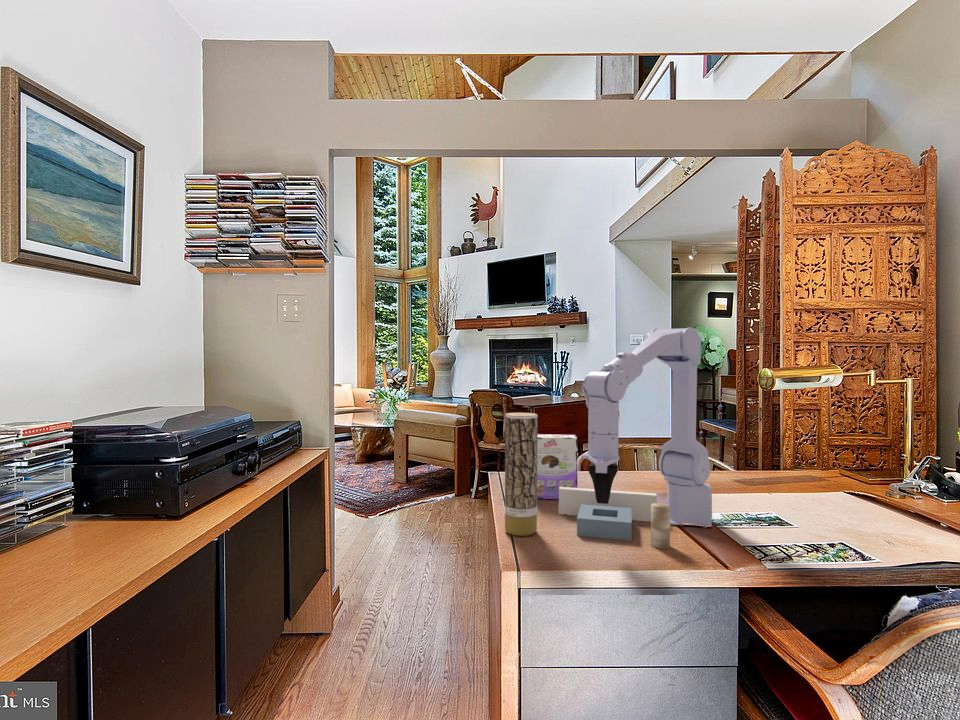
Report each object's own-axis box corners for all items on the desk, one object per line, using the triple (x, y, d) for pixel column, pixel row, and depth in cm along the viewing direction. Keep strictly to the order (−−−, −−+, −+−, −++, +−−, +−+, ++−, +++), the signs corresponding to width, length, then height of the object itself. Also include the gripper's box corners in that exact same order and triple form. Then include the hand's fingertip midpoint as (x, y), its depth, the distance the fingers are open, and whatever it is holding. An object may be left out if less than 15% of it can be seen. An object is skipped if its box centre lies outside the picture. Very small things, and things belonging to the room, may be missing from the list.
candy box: (575, 495, 145) (576, 433, 145) (577, 501, 139) (578, 437, 139) (524, 493, 147) (524, 432, 146) (523, 499, 141) (524, 436, 141)
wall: (656, 519, 124) (656, 493, 124) (656, 522, 122) (656, 495, 122) (559, 511, 130) (559, 486, 130) (558, 514, 128) (558, 488, 128)
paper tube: (535, 538, 111) (535, 416, 111) (502, 536, 112) (503, 415, 112) (538, 528, 118) (539, 413, 117) (507, 525, 119) (508, 412, 119)
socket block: (631, 525, 121) (631, 507, 121) (631, 542, 110) (631, 522, 110) (581, 521, 124) (581, 504, 124) (576, 537, 113) (576, 518, 113)
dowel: (669, 543, 109) (669, 503, 108) (670, 549, 105) (671, 508, 105) (650, 541, 110) (650, 502, 109) (651, 547, 106) (651, 507, 106)
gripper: (585, 427, 113) (584, 491, 113) (579, 437, 99) (578, 511, 99) (620, 428, 111) (619, 494, 111) (618, 439, 97) (618, 514, 97)
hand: (602, 502), depth 105 cm, fingers closed
